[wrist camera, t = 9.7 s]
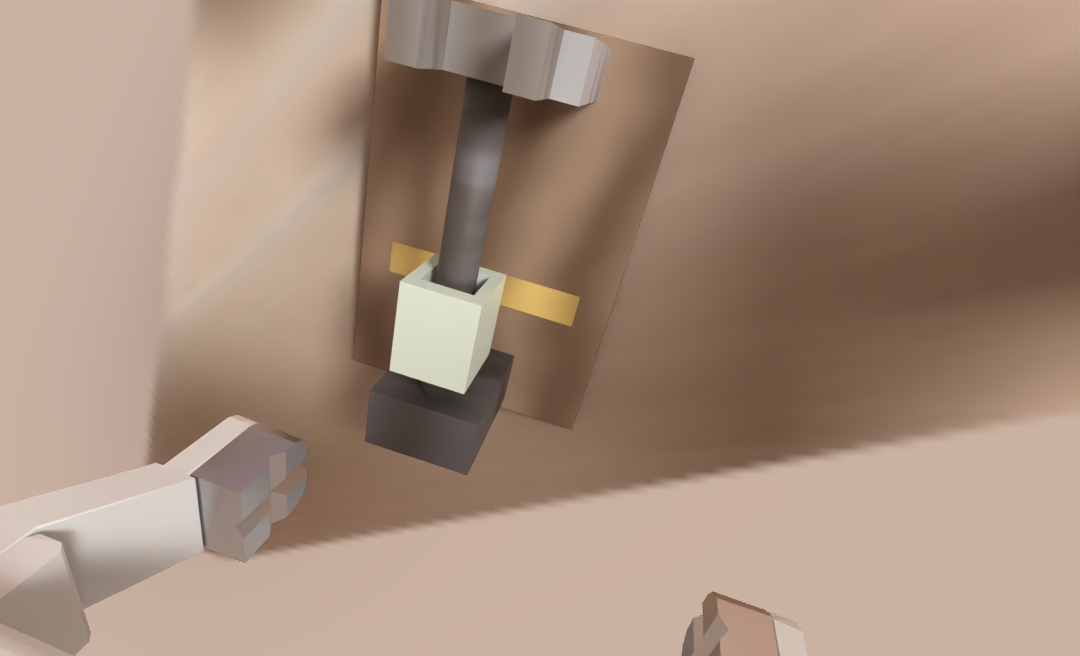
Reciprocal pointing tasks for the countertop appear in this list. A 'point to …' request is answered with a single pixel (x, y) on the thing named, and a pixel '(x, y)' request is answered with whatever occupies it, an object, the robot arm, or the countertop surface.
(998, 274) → the countertop surface
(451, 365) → the sleeve
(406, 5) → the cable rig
